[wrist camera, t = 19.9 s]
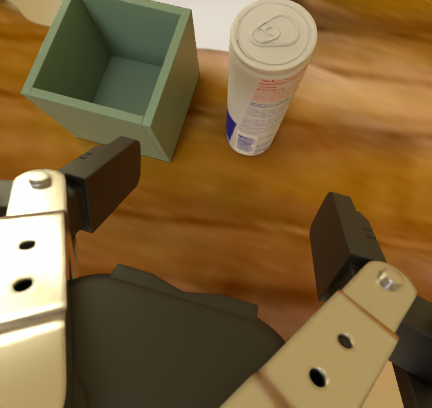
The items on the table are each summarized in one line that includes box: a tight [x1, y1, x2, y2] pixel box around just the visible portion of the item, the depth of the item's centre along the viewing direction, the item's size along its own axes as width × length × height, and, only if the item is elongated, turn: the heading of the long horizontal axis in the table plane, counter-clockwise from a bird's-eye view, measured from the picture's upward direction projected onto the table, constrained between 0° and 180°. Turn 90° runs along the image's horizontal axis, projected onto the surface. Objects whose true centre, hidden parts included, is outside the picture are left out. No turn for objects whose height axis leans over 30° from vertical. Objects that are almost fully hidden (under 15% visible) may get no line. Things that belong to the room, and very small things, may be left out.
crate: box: [21, 0, 200, 162], centre depth 28 cm, size 12×12×9 cm
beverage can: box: [226, 0, 317, 156], centre depth 24 cm, size 6×6×15 cm
